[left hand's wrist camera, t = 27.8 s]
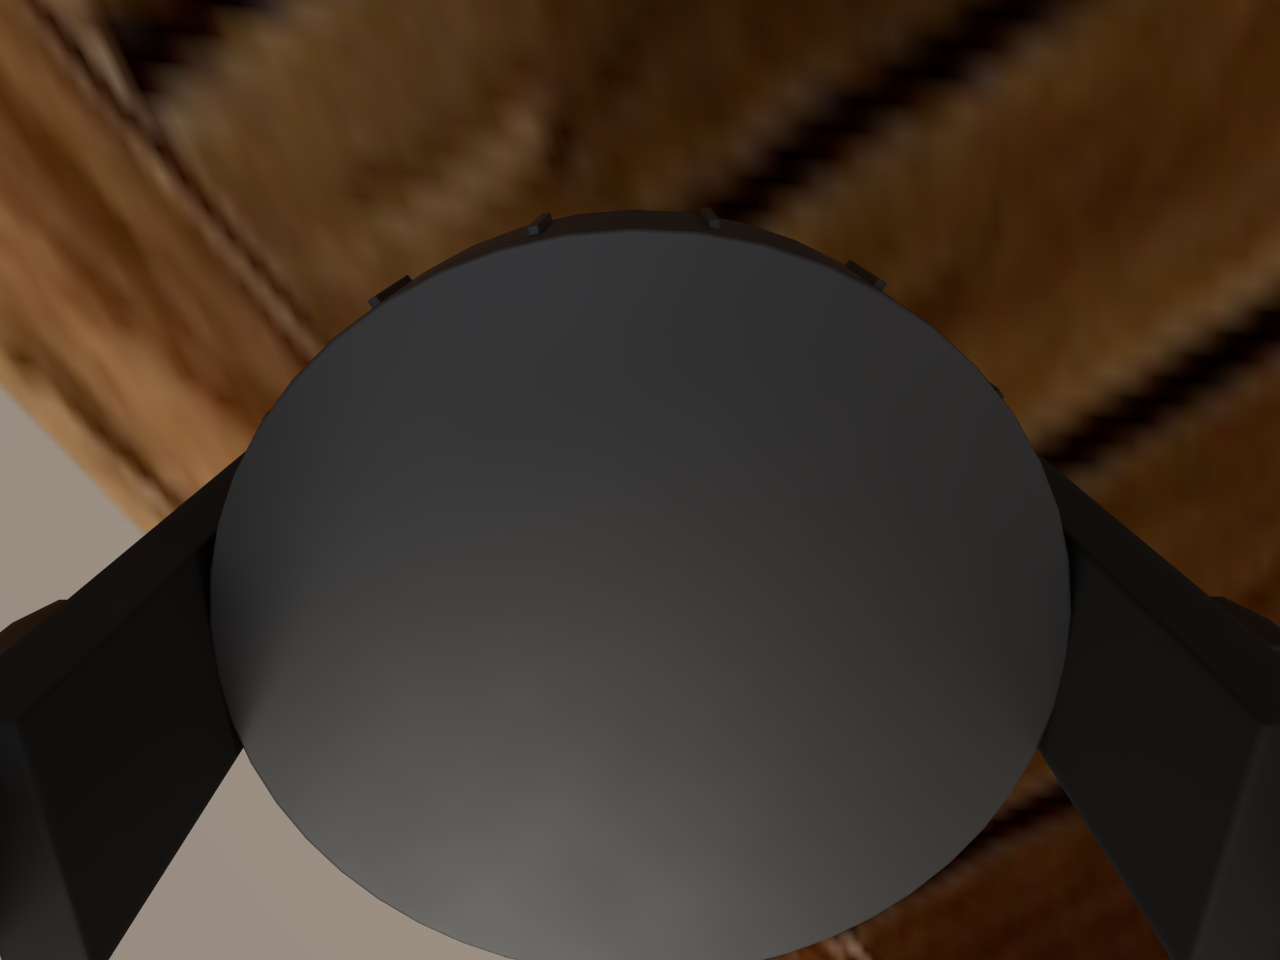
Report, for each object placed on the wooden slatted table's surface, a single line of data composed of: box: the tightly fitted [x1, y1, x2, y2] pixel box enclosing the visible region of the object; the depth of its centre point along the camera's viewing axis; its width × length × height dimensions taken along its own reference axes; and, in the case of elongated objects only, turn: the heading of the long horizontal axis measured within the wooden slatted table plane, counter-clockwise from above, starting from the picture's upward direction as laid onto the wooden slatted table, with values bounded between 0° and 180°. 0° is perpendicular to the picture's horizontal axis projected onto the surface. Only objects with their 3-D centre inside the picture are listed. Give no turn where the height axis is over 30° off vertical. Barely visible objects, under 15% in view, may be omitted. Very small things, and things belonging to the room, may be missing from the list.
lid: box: [210, 207, 1072, 960], centre depth 11 cm, size 10×10×2 cm
